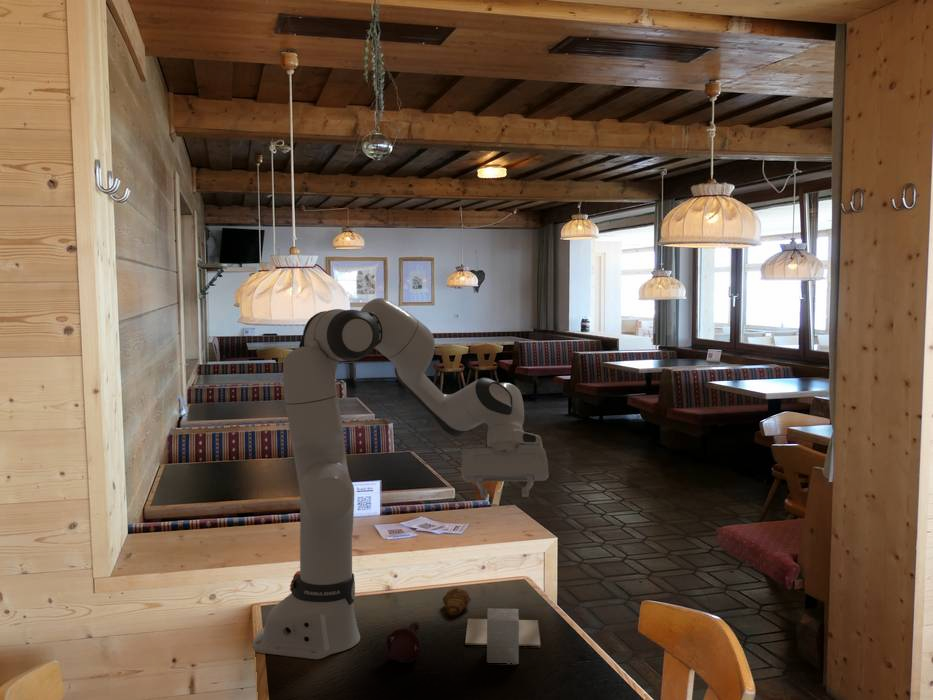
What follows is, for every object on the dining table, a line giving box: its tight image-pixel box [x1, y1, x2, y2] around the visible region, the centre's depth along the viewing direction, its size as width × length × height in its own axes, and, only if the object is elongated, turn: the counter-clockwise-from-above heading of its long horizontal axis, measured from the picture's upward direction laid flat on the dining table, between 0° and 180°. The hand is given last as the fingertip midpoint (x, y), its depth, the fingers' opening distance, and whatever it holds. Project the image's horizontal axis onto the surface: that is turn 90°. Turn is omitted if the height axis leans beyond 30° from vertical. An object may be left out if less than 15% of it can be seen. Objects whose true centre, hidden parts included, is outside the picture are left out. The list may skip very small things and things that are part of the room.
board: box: [464, 618, 541, 648], centre depth 175 cm, size 16×13×1 cm
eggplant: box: [385, 621, 422, 663], centre depth 162 cm, size 7×7×15 cm
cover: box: [486, 607, 520, 665], centre depth 164 cm, size 6×6×9 cm
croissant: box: [442, 587, 471, 618], centre depth 190 cm, size 14×7×5 cm, turn 173°
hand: (504, 496), depth 180 cm, fingers open, 8 cm apart
